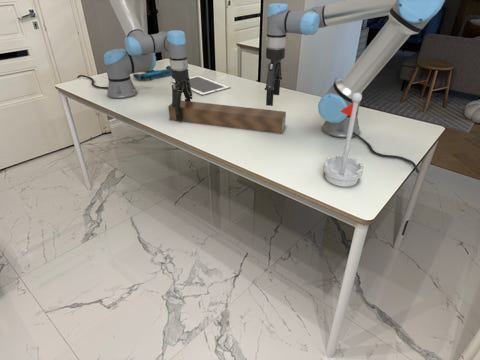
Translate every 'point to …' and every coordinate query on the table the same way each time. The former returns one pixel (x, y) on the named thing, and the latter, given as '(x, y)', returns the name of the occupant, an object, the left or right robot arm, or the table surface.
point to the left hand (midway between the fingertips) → (184, 116)
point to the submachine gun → (153, 74)
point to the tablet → (205, 85)
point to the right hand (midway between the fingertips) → (272, 99)
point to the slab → (231, 116)
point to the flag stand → (345, 155)
